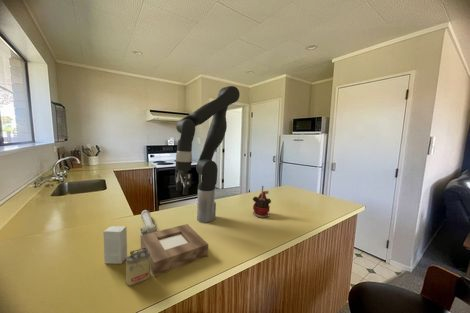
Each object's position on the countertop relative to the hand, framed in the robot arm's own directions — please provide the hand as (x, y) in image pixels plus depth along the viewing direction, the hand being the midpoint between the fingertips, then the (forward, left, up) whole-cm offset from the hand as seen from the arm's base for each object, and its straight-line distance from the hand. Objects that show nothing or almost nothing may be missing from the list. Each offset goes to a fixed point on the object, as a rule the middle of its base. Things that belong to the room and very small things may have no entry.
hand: (181, 192), depth 98 cm
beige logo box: (+25, +28, -18) cm, 41 cm away
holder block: (+11, +20, -17) cm, 28 cm away
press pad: (+11, +20, -14) cm, 27 cm away
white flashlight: (+18, -8, -15) cm, 25 cm away
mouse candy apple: (-45, +12, -18) cm, 50 cm away
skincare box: (+30, +14, -18) cm, 37 cm away
